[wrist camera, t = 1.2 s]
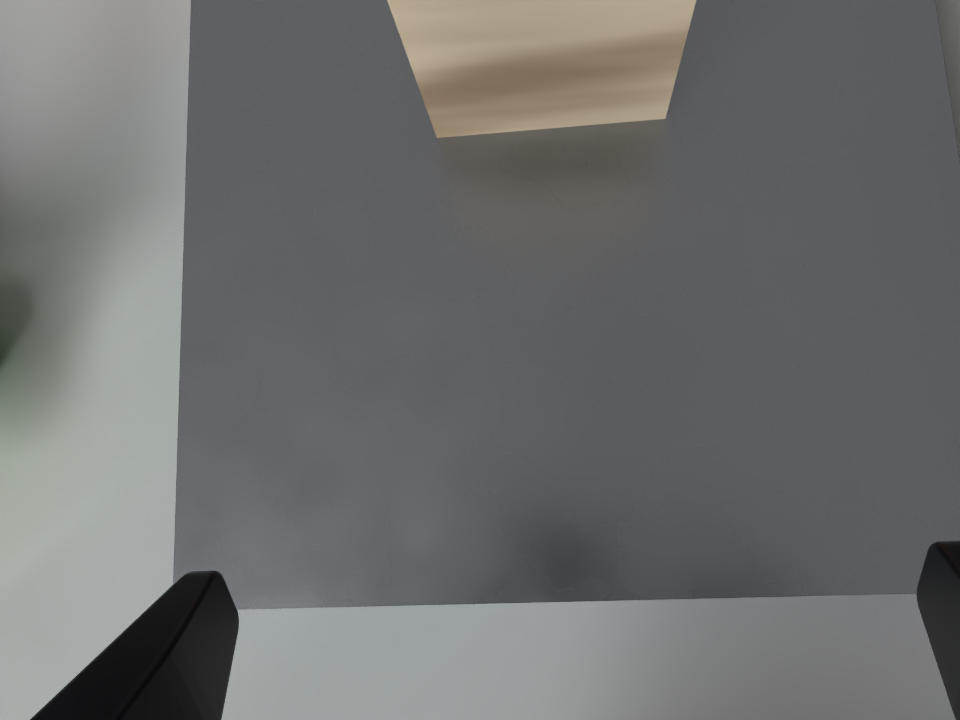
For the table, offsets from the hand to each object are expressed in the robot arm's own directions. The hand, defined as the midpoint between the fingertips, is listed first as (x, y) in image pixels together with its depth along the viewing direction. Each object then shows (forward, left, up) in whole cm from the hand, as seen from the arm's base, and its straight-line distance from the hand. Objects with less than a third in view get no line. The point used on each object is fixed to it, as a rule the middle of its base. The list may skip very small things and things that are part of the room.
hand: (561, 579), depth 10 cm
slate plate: (+8, -3, -13) cm, 15 cm away
